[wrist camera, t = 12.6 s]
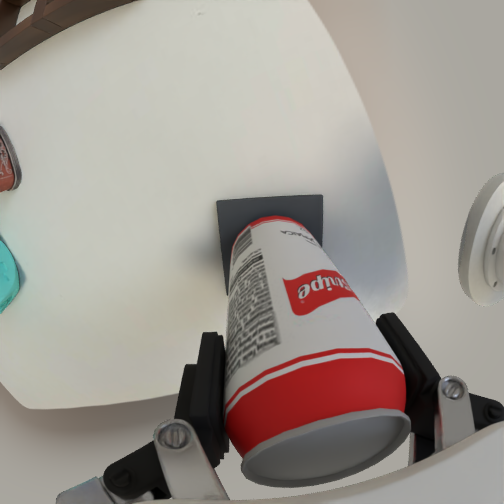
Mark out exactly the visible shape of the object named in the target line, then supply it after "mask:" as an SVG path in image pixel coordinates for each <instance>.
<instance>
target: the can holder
mask: <svg viewBox="0 0 504 504" xmlns="http://www.w3.org/2000/svg"><path fill="white" fill-rule="evenodd" d="M28 1H30V0H0V70H1V69H2V68H4V67H5V66H6V65H8V64H9V63H10V62H12V61H13V60H15V59H16V58H17V57H19V56H20V55H22V54H23V53H25V52H26V51H28V50H29V49H31V48H33V47H34V46H36V45H37V44H39V43H41V42H42V41H44V40H46V39H48V38H49V37H51V36H53V35H55V34H57V33H59V32H60V31H62V30H64V29H66V28H68V27H70V26H72V25H74V24H76V23H79V22H81V21H83V20H85V19H87V18H90V17H92V16H94V15H97V14H99V13H102V12H104V11H107V10H110V9H112V8H115V7H118V6H121V5H124V4H127V3H130V2H133V1H136V0H37V2H36V5H35V9H34V13H33V14H32V15H30V16H29V17H27V18H26V19H25V20H23V21H22V22H20V23H19V24H18V25H16V21H17V17H18V14H19V10H20V7H21V6H23V5H24V4H25V3H27V2H28ZM15 25H16V26H15Z"/></svg>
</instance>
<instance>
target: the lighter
mask: <svg viewBox="0 0 504 504" xmlns="http://www.w3.org/2000/svg"><path fill="white" fill-rule="evenodd" d="M20 182H21V170H20V167H19V163H18V160H17V157H16V154H15V151H14V149H13V146H12V144H11V142H10V140H9V138H8V135H7V134H6V132H5V131H4V129H3V128H2V127H1V126H0V192H2V191H5V190H7V191H10V190H13V189H16V188H17V187H18V186H19V184H20Z"/></svg>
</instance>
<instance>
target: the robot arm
mask: <svg viewBox="0 0 504 504" xmlns="http://www.w3.org/2000/svg"><path fill="white" fill-rule="evenodd" d="M484 277H485V281H486V283H487V285H488V286H489V287H490V288H491V289H493V290H494V291H502V290H504V207H503V209H502V210H501V212H500V213H499V215H498V216H497V218H496V220H495V222H494V224H493V227H492V229H491V232H490V235H489V238H488V241H487V246H486V250H485V256H484ZM376 326H377V327H378V329H379V330H380V332H381V333H382V335H383V336H384V338H385V340H386V341H387V343H388V344H389V346H390V347H391V349H392V351H393V352H394V354H395V355H396V357H397V359H398V360H399V362H400V364H401V366H402V368H403V372H404V376H405V383H406V403H405V411H404V414H406V415H407V416H408V417H409V419H410V421H411V431H410V447H409V461H408V466H407V467H405V468H403V469H400V470H397V471H394V472H392V473H389V474H386V475H383V476H380V477H377V478H374V479H371V480H368V481H365V482H360V483H357V484H353V485H349V486H345V487H341V488H337V489H333V490H328V491H323V492H317V493H312V494H305V495H299V496H291V497H283V498H272V499H258V500H230V499H229V497H228V495H227V493H226V491H225V489H224V487H223V485H222V483H221V481H220V479H219V477H218V475H217V474H216V471H215V469H214V468H215V467H217V466H218V465H219V464H220V459H224V453H228V452H229V437H228V435H227V433H226V431H225V427H224V424H223V394H224V372H225V347H224V341H223V336H222V335H218V334H217V332H203V334H202V339H201V344H200V350H199V356H198V361H197V364H186V365H185V368H184V372H183V376H182V381H181V386H180V391H179V396H178V401H177V406H176V411H175V416H174V419H170V420H167V421H164V422H162V423H161V424H160V425H158V427H157V428H156V429H155V431H154V435H153V438H154V440H153V441H152V442H150V443H148V444H147V445H145V446H143V447H142V448H140V449H138V450H136V451H135V452H133V453H131V454H129V455H127V456H126V457H124V458H122V459H120V460H118V461H116V462H114V463H113V464H111V465H110V466H108V467H107V469H106V470H105V471H104V475H103V476H102V477H100V478H97V477H94V478H92V479H90V480H88V481H86V482H84V483H82V484H79V485H77V486H75V487H73V488H70V489H68V490H66V491H63V492H62V493H60V494H59V495H58V496H57V498H56V504H504V407H503V405H502V404H501V403H500V402H498V401H496V400H492V399H488V398H485V397H481V396H477V395H474V394H471V393H469V392H468V388H467V386H466V384H465V382H464V381H463V380H462V379H460V378H458V377H456V376H447V377H444V378H443V379H441V377H440V376H439V374H438V372H437V371H436V369H435V368H434V366H433V365H432V363H431V362H430V361H429V359H428V358H427V356H426V355H425V353H424V352H423V351H422V349H421V348H420V346H419V345H418V344H417V342H416V341H415V340H414V338H413V337H412V335H411V334H410V333H409V332H408V330H407V329H406V327H405V326H404V325H403V323H402V322H401V321H400V320H399V318H398V317H397V316H396V314H395V313H393V312H392V313H387V314H382V315H381V316H380V318H378V319H377V320H376ZM171 497H172V499H169V498H171Z"/></svg>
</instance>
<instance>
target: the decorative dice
mask: <svg viewBox="0 0 504 504" xmlns="http://www.w3.org/2000/svg"><path fill="white" fill-rule="evenodd" d="M18 291H19V275H18V270H17V267H16V264H15V261H14V259H13V257H12V255H11V253H10V251H9V250H8V248H7V247H6V246H5V244H4V243H3V242H2V241H0V314H1V313H2V312H3V310H4V309H5V308H6V307H7V306H8V305H9V303H10V302H11V301H12V300H13V298H14V297H15V296H16V294H17V293H18Z"/></svg>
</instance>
